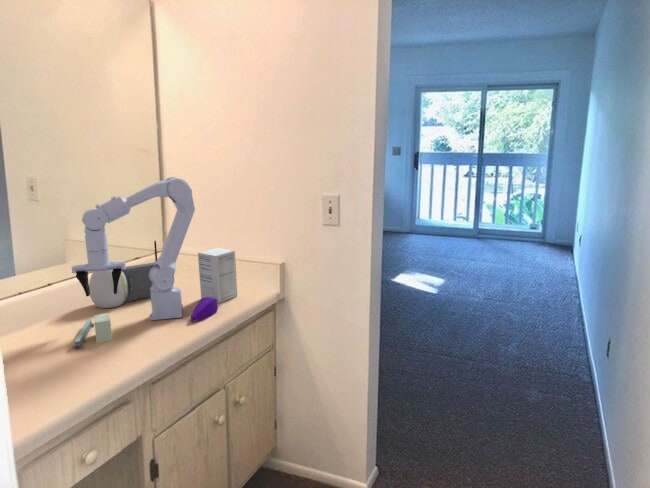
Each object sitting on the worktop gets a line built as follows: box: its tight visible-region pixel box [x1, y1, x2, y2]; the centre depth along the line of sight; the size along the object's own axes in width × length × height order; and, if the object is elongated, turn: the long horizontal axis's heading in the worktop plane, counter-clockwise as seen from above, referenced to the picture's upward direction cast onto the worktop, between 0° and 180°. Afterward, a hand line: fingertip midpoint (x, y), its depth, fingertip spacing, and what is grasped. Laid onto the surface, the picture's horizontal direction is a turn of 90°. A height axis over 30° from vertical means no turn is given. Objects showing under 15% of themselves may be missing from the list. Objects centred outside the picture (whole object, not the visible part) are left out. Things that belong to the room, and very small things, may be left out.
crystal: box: [190, 297, 219, 322], centre depth 162 cm, size 5×5×15 cm
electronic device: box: [122, 240, 158, 303], centre depth 179 cm, size 17×7×20 cm, turn 128°
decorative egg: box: [88, 270, 128, 309], centre depth 173 cm, size 12×12×15 cm
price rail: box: [72, 318, 95, 350], centre depth 146 cm, size 2×18×2 cm, turn 15°
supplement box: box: [197, 247, 238, 304], centre depth 179 cm, size 10×9×17 cm
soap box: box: [93, 312, 113, 344], centre depth 145 cm, size 7×4×6 cm, turn 26°
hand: (102, 294), depth 153 cm, fingers open, 7 cm apart
